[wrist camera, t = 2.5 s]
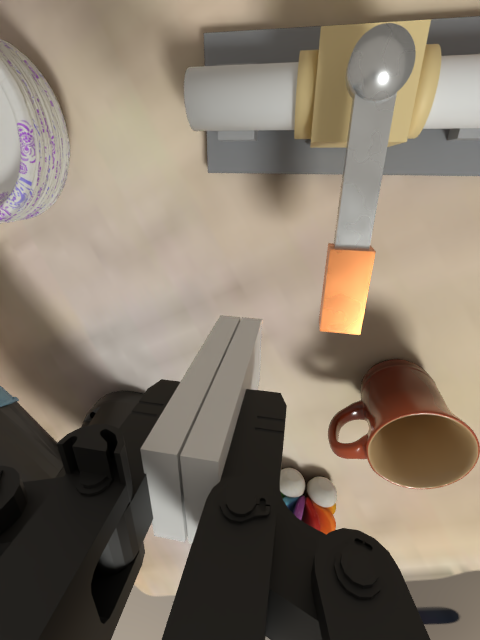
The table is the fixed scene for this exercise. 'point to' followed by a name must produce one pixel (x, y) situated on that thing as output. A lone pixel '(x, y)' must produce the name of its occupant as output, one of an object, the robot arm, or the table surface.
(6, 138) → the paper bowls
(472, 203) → the table surface
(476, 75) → the valve fixture
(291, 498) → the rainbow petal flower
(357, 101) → the valve lever
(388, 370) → the mug
